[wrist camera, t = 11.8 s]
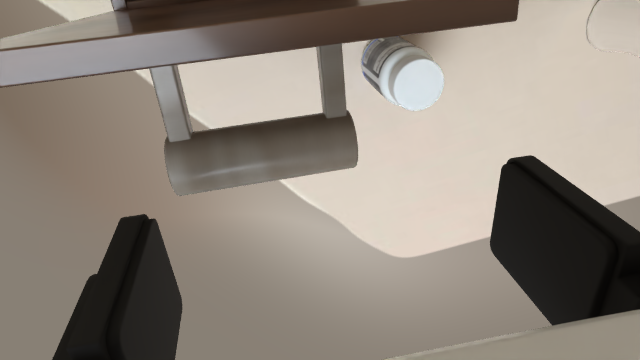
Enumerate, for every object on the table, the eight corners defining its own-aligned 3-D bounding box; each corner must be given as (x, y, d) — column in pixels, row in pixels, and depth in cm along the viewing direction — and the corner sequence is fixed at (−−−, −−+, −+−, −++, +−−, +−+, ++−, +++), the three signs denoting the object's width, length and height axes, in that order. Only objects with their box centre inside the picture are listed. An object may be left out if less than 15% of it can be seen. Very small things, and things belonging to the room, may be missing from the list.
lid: (-87, 59, 10) (12, 255, 12) (521, -14, 11) (502, 171, 13) (111, 11, 24) (138, 103, 27) (360, -17, 26) (365, 71, 28)
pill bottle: (412, 78, 40) (451, 107, 33) (364, 91, 40) (393, 123, 33) (406, 27, 38) (447, 46, 31) (356, 40, 38) (385, 63, 30)
